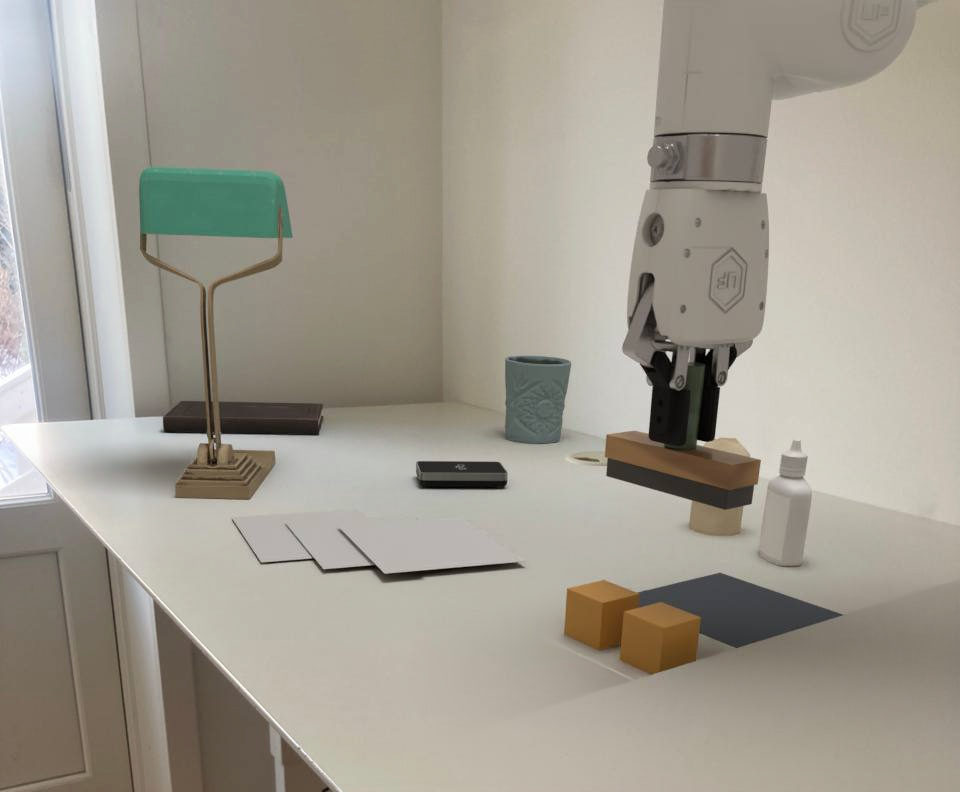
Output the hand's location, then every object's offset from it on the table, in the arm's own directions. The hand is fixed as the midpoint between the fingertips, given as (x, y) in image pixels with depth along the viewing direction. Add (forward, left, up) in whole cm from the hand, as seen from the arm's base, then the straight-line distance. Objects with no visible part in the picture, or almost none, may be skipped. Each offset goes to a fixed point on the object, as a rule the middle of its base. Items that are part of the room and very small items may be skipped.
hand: (681, 438), depth 76 cm
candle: (-29, -19, -16) cm, 38 cm away
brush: (0, 0, -4) cm, 4 cm away
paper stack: (+6, -34, -16) cm, 38 cm away
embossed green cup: (-46, -70, -16) cm, 85 cm away
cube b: (+5, -2, -16) cm, 17 cm away
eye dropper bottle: (-26, -8, -16) cm, 31 cm away
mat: (-10, +1, -16) cm, 19 cm away
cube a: (+5, +4, -16) cm, 17 cm away
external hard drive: (-18, -51, -16) cm, 57 cm away
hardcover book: (-12, -100, -16) cm, 102 cm away
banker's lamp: (+6, -67, -16) cm, 69 cm away
